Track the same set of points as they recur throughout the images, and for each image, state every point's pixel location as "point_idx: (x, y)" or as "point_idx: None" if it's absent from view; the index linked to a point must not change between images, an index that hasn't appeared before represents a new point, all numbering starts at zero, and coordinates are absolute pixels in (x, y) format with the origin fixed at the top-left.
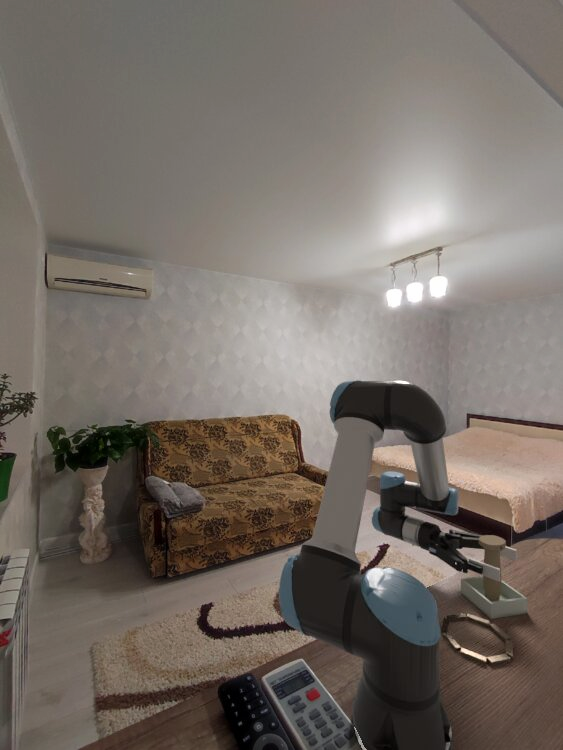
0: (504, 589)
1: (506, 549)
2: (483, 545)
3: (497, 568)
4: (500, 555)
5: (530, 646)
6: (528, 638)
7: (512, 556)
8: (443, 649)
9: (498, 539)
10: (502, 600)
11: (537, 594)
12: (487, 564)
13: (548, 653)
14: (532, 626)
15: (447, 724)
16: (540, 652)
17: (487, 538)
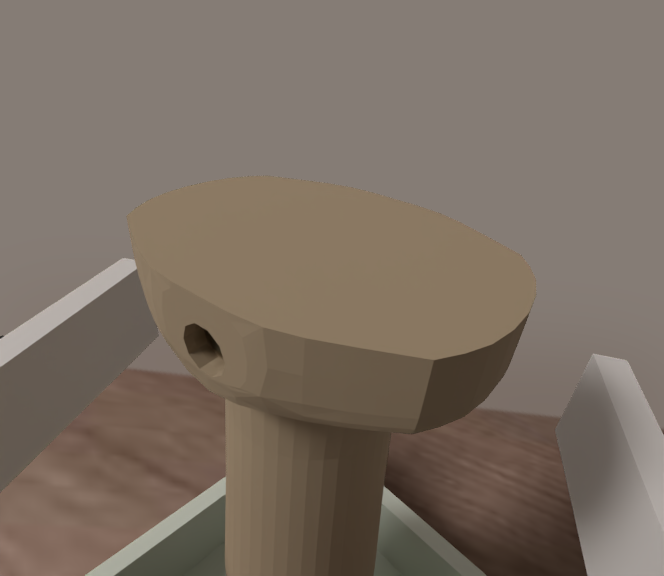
0: (197, 540)
1: (99, 313)
2: (513, 350)
3: (613, 367)
4: (80, 409)
5: (544, 478)
6: (497, 480)
7: (139, 325)
8: None
9: (257, 200)
10: (421, 534)
11: (117, 420)
12: (636, 438)
13: (525, 430)
14: (397, 460)
15: None
16: (546, 451)
17: (295, 265)
